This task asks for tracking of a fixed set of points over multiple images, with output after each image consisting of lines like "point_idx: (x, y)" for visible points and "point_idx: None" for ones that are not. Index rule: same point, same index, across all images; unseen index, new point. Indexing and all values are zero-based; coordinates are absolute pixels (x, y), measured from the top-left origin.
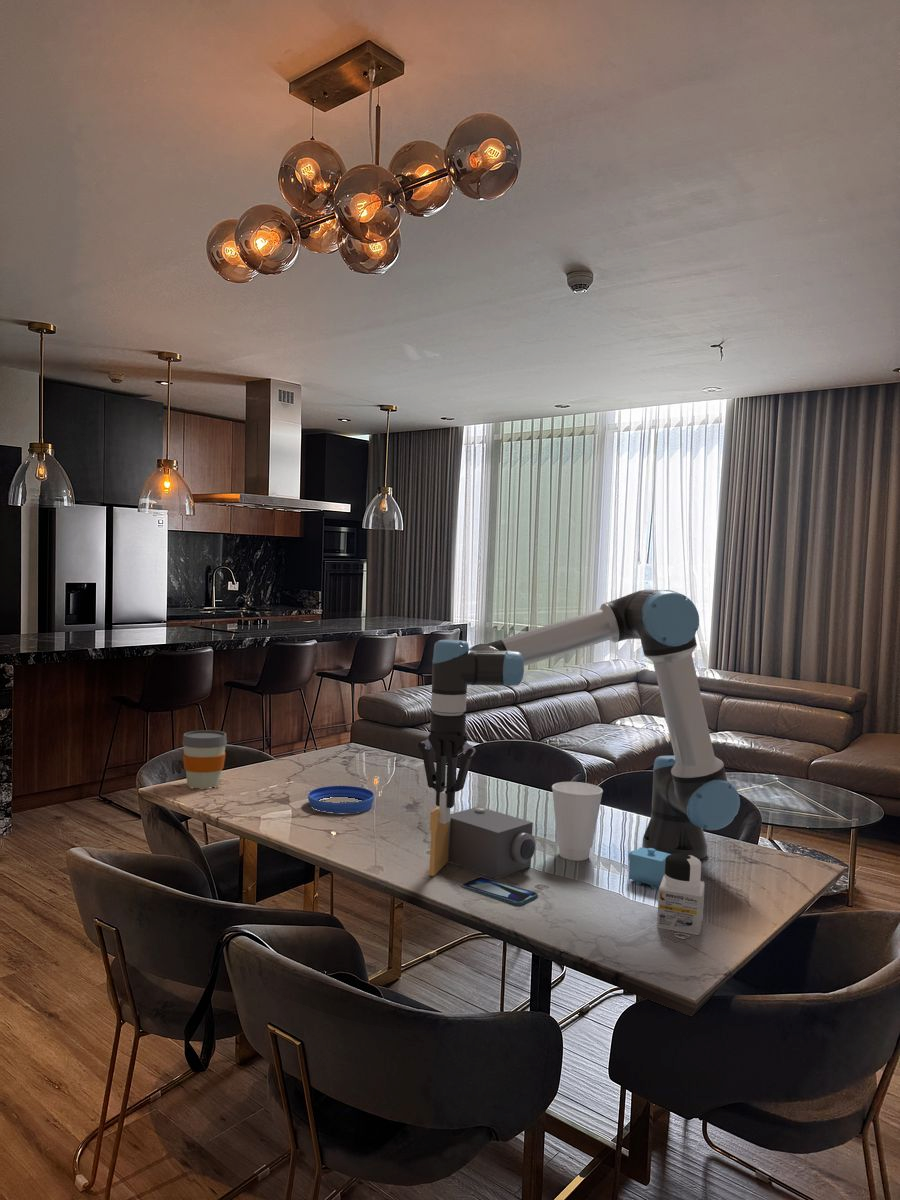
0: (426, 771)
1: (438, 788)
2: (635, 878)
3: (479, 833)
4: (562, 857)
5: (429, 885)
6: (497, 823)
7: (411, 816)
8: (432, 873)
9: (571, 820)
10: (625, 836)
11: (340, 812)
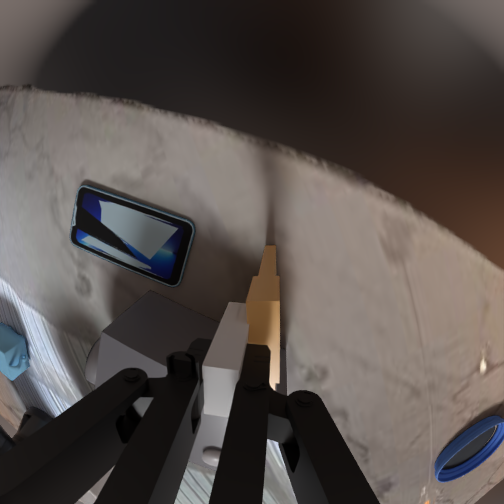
0: (347, 463)
1: (247, 386)
2: (17, 336)
3: (164, 353)
4: None
5: (257, 198)
6: None
7: (381, 470)
8: (268, 246)
9: None
10: None
11: (473, 427)
